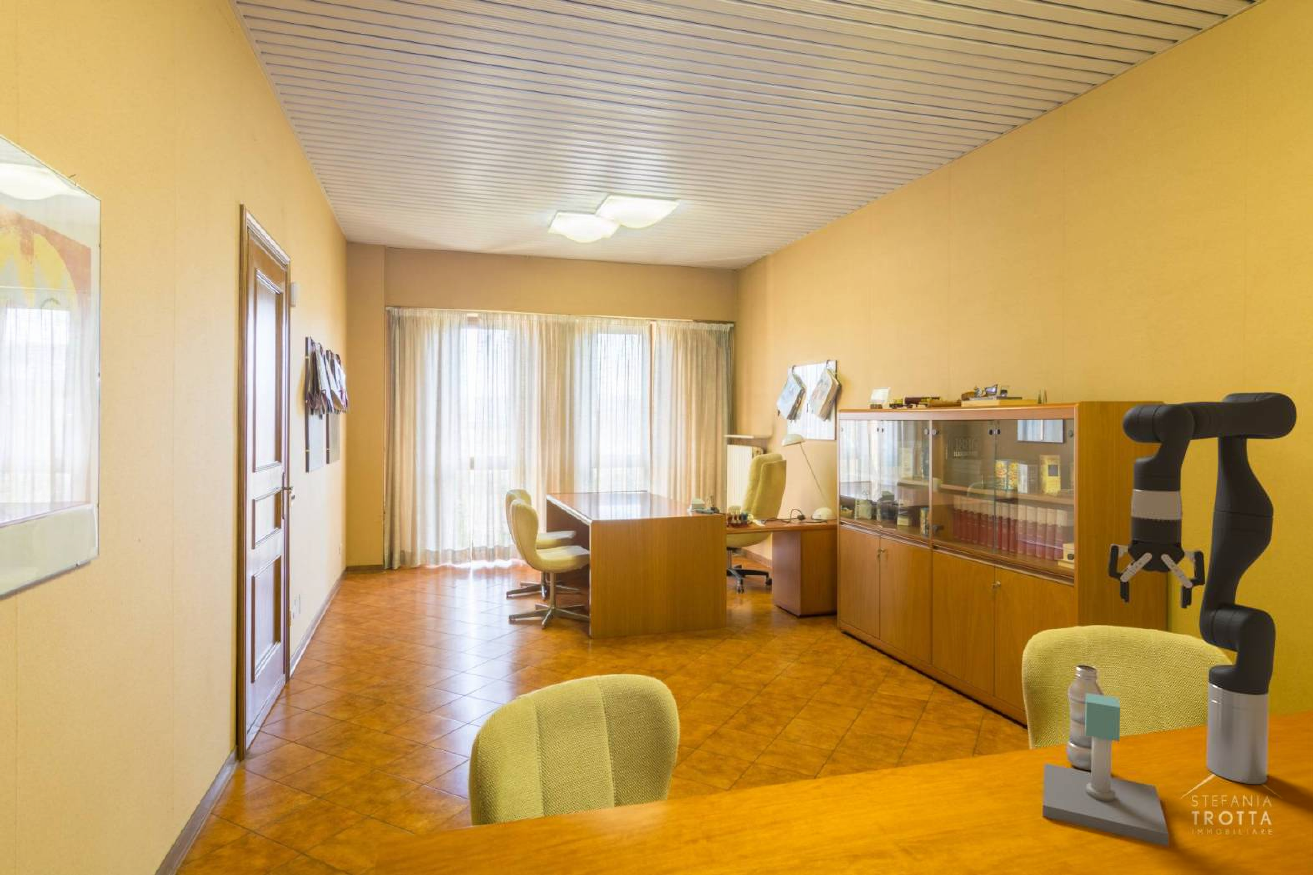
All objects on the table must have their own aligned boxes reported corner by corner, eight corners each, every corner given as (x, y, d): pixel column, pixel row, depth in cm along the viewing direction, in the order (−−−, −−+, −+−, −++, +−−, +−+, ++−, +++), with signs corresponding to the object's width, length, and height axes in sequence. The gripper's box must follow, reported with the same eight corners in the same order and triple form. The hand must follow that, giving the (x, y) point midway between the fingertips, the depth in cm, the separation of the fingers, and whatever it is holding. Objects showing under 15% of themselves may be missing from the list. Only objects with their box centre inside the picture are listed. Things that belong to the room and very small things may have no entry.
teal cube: (1085, 725, 132) (1085, 692, 132) (1117, 731, 130) (1117, 697, 130) (1086, 735, 128) (1086, 701, 128) (1119, 741, 125) (1120, 707, 125)
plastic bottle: (1093, 760, 147) (1094, 662, 147) (1110, 776, 140) (1112, 674, 140) (1059, 758, 148) (1061, 661, 147) (1075, 774, 141) (1077, 672, 141)
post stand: (1044, 773, 141) (1045, 682, 141) (1155, 796, 133) (1157, 699, 132) (1042, 816, 126) (1044, 713, 125) (1168, 846, 117) (1170, 736, 116)
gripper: (1201, 515, 129) (1199, 605, 130) (1108, 510, 136) (1106, 595, 137) (1209, 520, 123) (1207, 614, 123) (1110, 514, 130) (1109, 604, 130)
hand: (1154, 604), depth 130 cm, fingers open, 8 cm apart
